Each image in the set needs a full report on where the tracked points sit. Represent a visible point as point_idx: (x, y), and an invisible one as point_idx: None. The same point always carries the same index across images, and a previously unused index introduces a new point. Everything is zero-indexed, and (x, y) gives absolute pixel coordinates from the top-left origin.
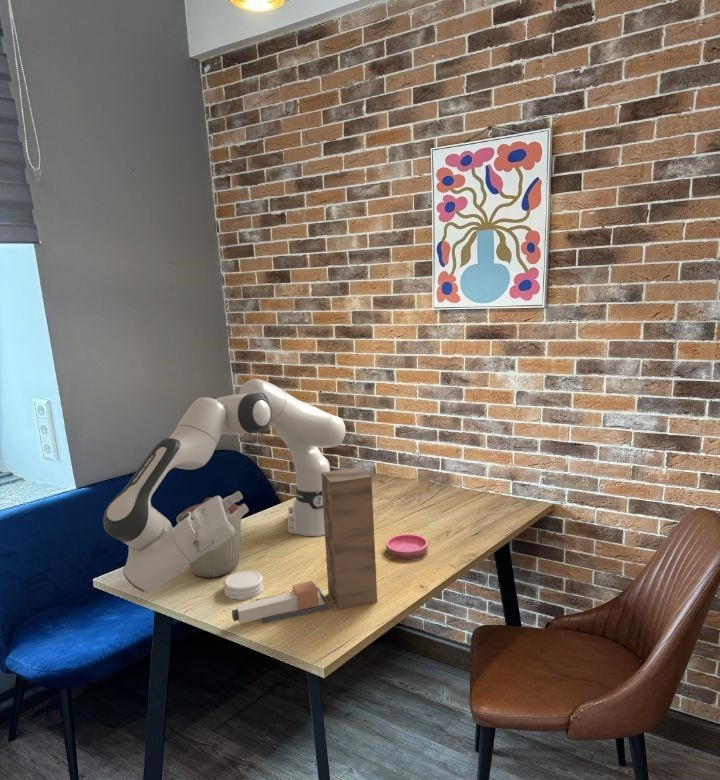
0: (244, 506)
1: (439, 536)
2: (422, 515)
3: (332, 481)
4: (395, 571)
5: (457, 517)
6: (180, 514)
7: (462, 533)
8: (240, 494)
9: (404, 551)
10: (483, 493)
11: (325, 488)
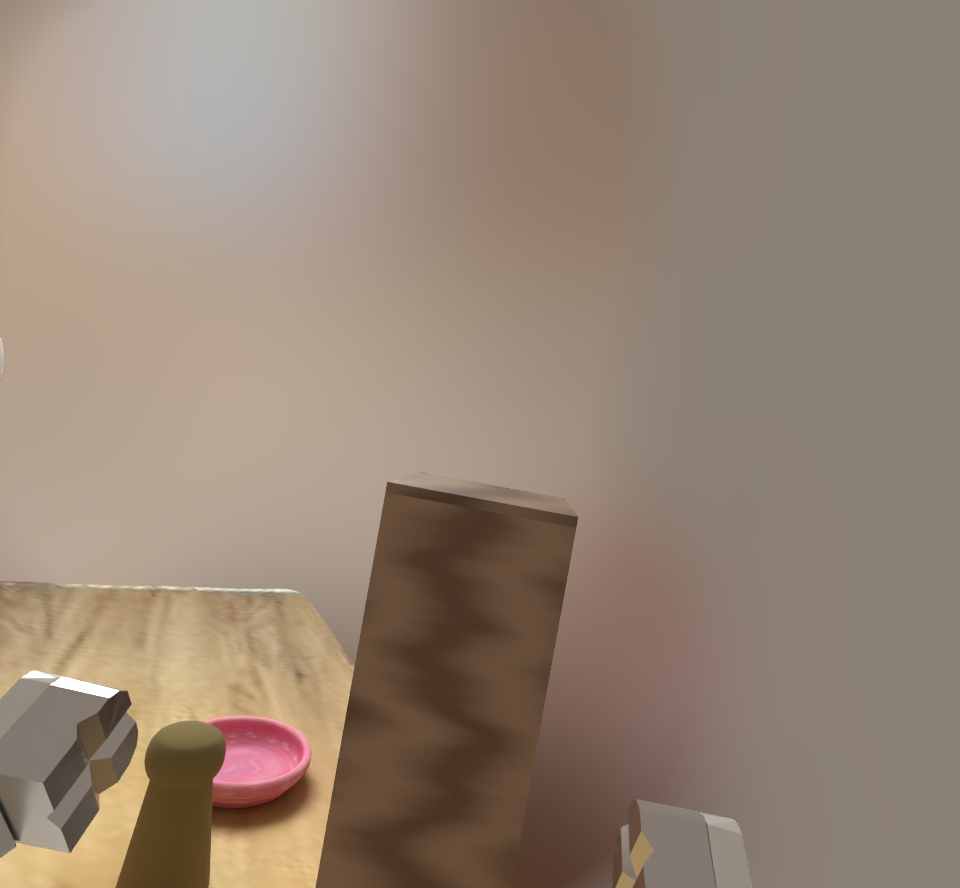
0: (733, 837)
1: (240, 705)
2: (102, 665)
3: (562, 513)
4: (318, 855)
5: (197, 650)
6: None
7: (273, 683)
8: (124, 709)
9: (285, 776)
10: (159, 592)
11: (449, 560)
